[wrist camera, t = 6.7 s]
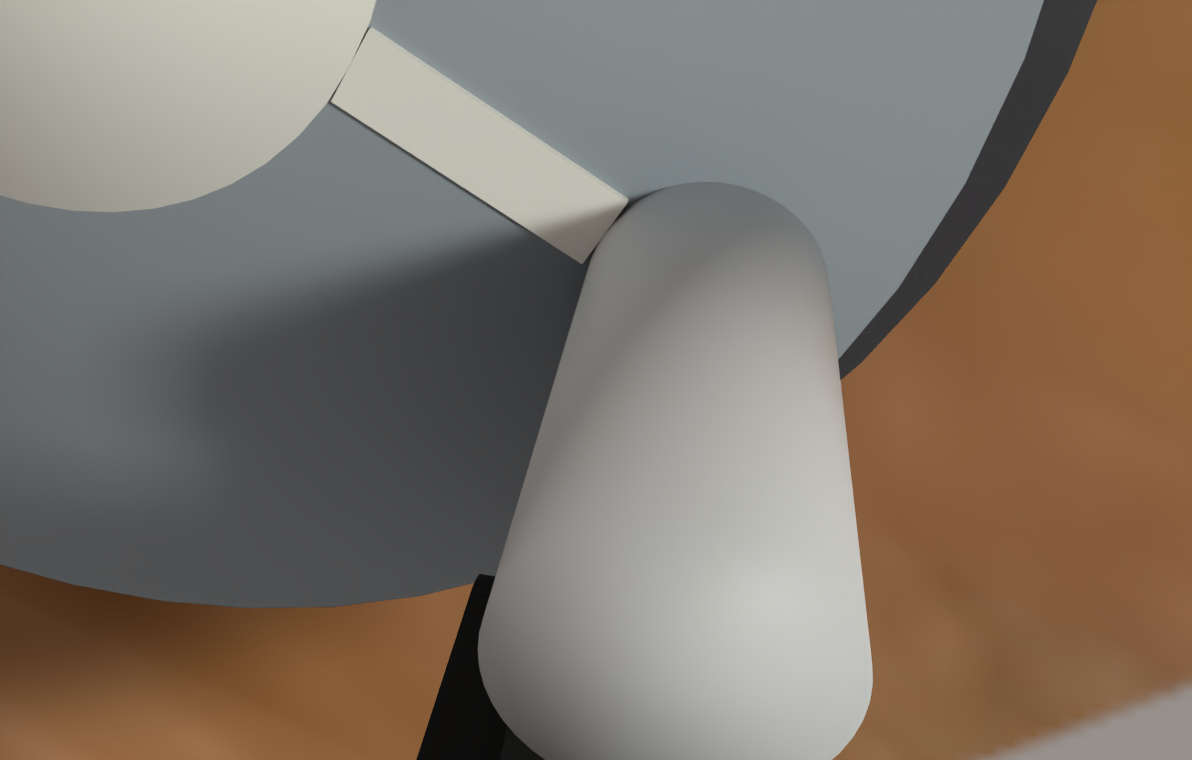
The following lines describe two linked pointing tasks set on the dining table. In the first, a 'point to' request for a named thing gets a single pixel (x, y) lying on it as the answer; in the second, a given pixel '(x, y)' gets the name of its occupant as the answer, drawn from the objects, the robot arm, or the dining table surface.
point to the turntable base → (987, 163)
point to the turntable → (482, 324)
